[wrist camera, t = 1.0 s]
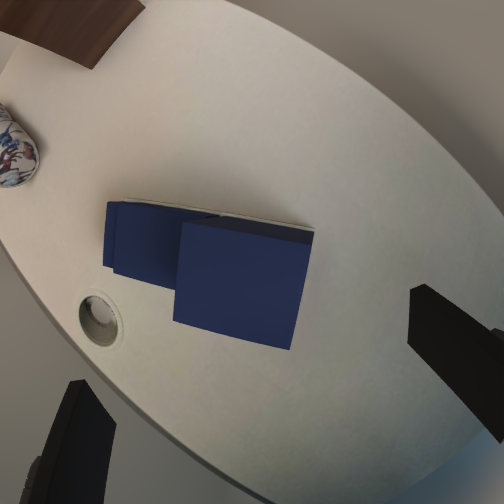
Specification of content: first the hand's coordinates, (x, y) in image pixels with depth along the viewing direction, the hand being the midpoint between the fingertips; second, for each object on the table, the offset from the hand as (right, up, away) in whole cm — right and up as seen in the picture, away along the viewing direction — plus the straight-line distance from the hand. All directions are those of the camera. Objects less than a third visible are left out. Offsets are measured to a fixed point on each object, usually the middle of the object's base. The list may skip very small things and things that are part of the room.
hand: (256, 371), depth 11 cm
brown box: (-28, +44, +23) cm, 57 cm away
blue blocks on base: (-5, +5, +23) cm, 24 cm away
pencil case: (-42, +24, +29) cm, 56 cm away
